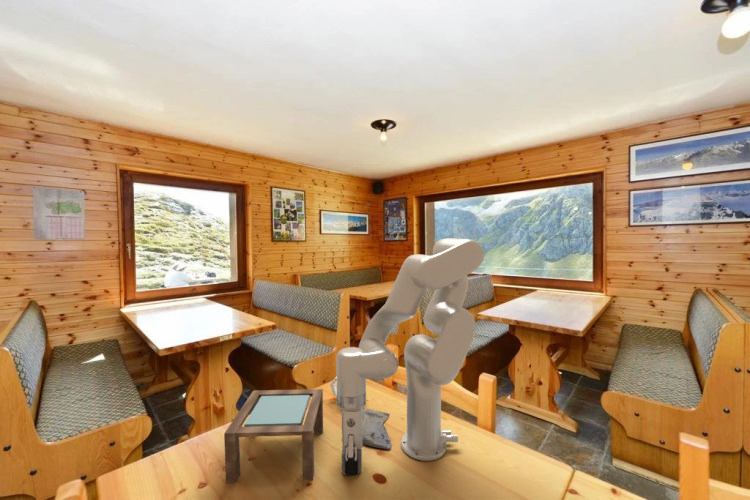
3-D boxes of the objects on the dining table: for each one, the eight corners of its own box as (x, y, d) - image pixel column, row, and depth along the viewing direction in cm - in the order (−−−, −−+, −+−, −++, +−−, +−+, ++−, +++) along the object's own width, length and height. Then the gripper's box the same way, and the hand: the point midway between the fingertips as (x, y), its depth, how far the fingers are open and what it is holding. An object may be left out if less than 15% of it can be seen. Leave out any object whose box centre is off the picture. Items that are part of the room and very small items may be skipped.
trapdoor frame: (323, 428, 101) (322, 389, 100) (312, 480, 80) (311, 431, 79) (254, 430, 100) (253, 390, 100) (225, 482, 79) (224, 433, 79)
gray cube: (361, 459, 88) (361, 441, 87) (361, 473, 83) (361, 454, 82) (343, 459, 87) (343, 441, 87) (341, 473, 82) (341, 454, 82)
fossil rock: (354, 411, 111) (354, 405, 111) (398, 417, 108) (398, 410, 108) (338, 444, 94) (338, 436, 94) (390, 452, 91) (390, 444, 91)
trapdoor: (310, 398, 97) (310, 395, 97) (301, 426, 83) (301, 423, 83) (261, 399, 96) (261, 396, 96) (244, 428, 82) (244, 424, 82)
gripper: (366, 416, 75) (366, 490, 77) (365, 381, 93) (366, 442, 94) (333, 416, 75) (334, 491, 76) (339, 381, 92) (339, 443, 93)
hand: (352, 463), depth 85 cm, fingers open, 6 cm apart
